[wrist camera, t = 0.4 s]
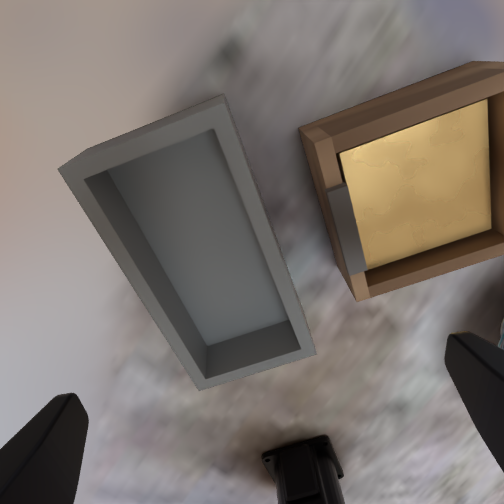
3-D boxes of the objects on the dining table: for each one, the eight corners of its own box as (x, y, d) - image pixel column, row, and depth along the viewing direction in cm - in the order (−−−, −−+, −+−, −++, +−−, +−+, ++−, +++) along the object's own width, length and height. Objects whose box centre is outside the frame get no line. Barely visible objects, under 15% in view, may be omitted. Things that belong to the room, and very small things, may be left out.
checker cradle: (480, 218, 23) (532, 251, 20) (336, 267, 24) (357, 307, 20) (472, 60, 19) (538, 62, 15) (296, 128, 20) (314, 146, 16)
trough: (304, 314, 26) (317, 354, 23) (202, 347, 27) (198, 391, 23) (223, 93, 19) (223, 102, 15) (87, 148, 20) (57, 169, 16)
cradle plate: (480, 221, 21) (491, 228, 20) (361, 261, 22) (367, 269, 21) (474, 96, 18) (487, 98, 17) (334, 148, 19) (339, 153, 18)
